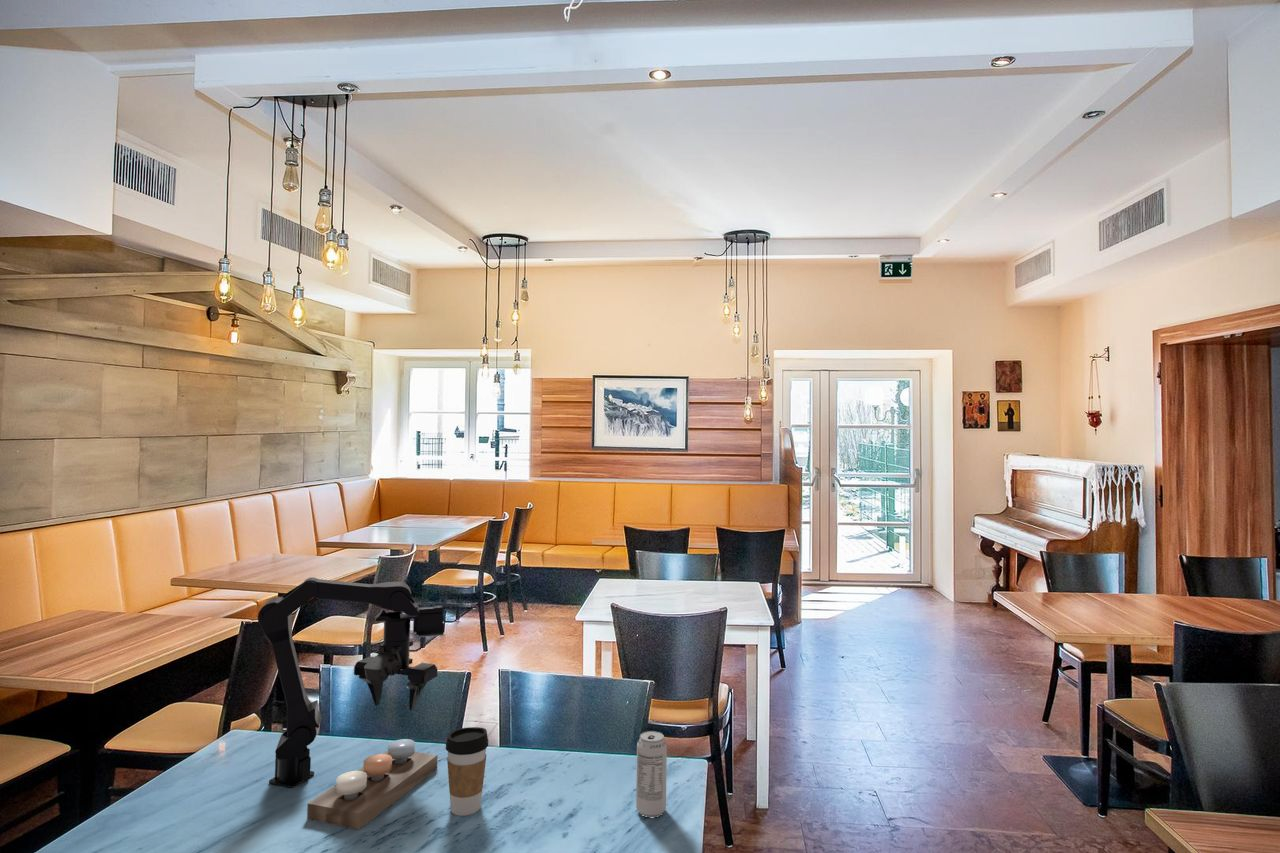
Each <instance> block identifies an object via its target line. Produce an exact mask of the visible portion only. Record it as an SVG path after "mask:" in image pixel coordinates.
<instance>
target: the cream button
mask: <svg viewBox="0 0 1280 853" xmlns="http://www.w3.org/2000/svg"><path fill="white" fill-rule="evenodd" d="M335 785H336V792H337V793H339V794H343V795H344V800H348V801H354V800H355V799H357V798H358V792H360V791H362V790H364V789H365V788H366V786H367V774H366V773H365V772H363V771H358V770H350V771H346V772H345V773H342V774H340V775H338V776H337V778H336V784H335Z"/></svg>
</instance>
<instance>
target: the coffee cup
mask: <svg viewBox="0 0 1280 853" xmlns="http://www.w3.org/2000/svg"><path fill="white" fill-rule="evenodd" d="M488 737H489V736H488V730H487V729H486V728H483V727H477V726H476V727H474V726H472V727H469V726H468V727H461V728H457V729H454V730H452V731H450V732H449V733H448V734H447V738H446V742H445V750H446V751H447V758H446V759H447V760H446V761H447V776H448V788H449V803H450V804H449V805H450V812H451V813H452V814H453V815H456V816H461V817H463V816H470V815H473V814H475V813H477V812H478V811H479V810H480V809H481V806H482V799H483V798H482V796H483V789H484V788H483V787H484V780H485V771H486V763H487V762H486V761H487V753H486V752H487V748H488V747H489V738H488Z"/></svg>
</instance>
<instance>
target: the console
mask: <svg viewBox="0 0 1280 853" xmlns="http://www.w3.org/2000/svg"><path fill="white" fill-rule="evenodd" d="M382 754H387V755H388V750H387V751H385V752H384V753H382ZM437 769H438V754H433V753H427V752H419V751H416V750H414V754H413V755H412V756H410V757H408V758H407V763H405V764H404V765H398V764H395V759H392V769H391V770H390V771H389V772H388V773H386V774H384V779H383V780H382V781H380V782H374V781H371V776H368V775H367V786H366V788H365V789H364V790H362V791H360V792H358V798H357V799H355V800H354V801H348V800H344V795H343V794H339V793H337V792H336V784H335V785H333V786H332V787H330V788H329V789H327V790H325V791H324V792H323V793H322V794H320V795H318V796H316V797H315V798H314V799H312V800H310V801H309V802H308V803H307V810H306V812H307V814H306V816H307V817H306V819H307V820H309V819H311V820H310V821H314V820H315V821H314V822H320V823H324V824H330V825H334V826H339V825H340V826H339V827H344V826H345V828H349V827H350V828H349V829H354V828H356V829H355V830H361V829H362V828H363V827H365V826H366V825H367V824H369V821H370V820H371V821H372V820H374V819H375V818H376V817H377V816H379V815H380V814H381V813H382V812H384V811H385V810H386V809H388V807H390V806H392V805H393V804H394V803H395V802H396V801H398V800H399V799H400V798H401V797H402V796H404V795H406V794H407V793H408V792H409V791H410V790H412V789H413V788H414V787H415V786H417V785H418V784H420V783H421V782H422V781H424V780H425V779H426V778H427V777H428V776H430V775H431V774H432V773H434V772H435V771H436V770H437ZM357 771H363V766H362V767H361V768H359V769H358V770H357ZM378 814H379V815H378ZM374 817H375V818H374ZM371 821H370V822H371ZM366 823H367V824H366ZM365 824H366V825H365ZM364 825H365V826H364ZM361 827H362V828H361ZM360 828H361V829H360Z"/></svg>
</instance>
